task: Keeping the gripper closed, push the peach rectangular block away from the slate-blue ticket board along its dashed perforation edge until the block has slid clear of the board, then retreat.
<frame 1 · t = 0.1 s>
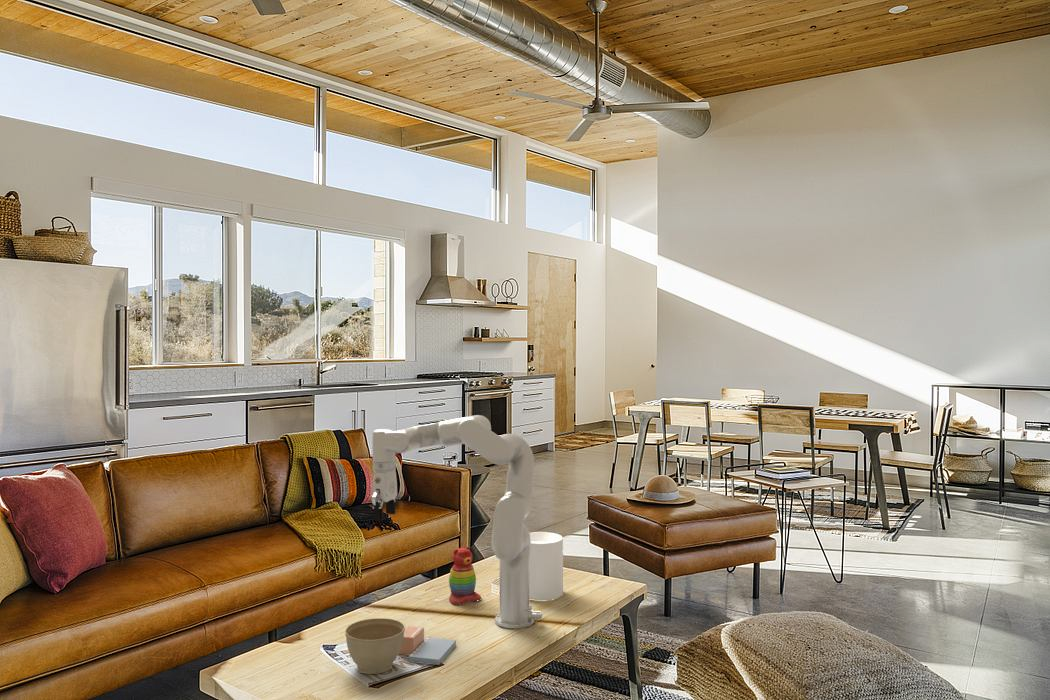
hand: (384, 517, 253), 31 cm above the table, fingers open, 9 cm apart
planter bowl: (375, 668, 209), on the table
stacking bear: (463, 599, 263), on the table
ticket board: (433, 653, 218), on the table
peach rectangular block: (410, 640, 221), point 3 cm above the table, slide at 0.0 cm
canister: (540, 594, 268), on the table
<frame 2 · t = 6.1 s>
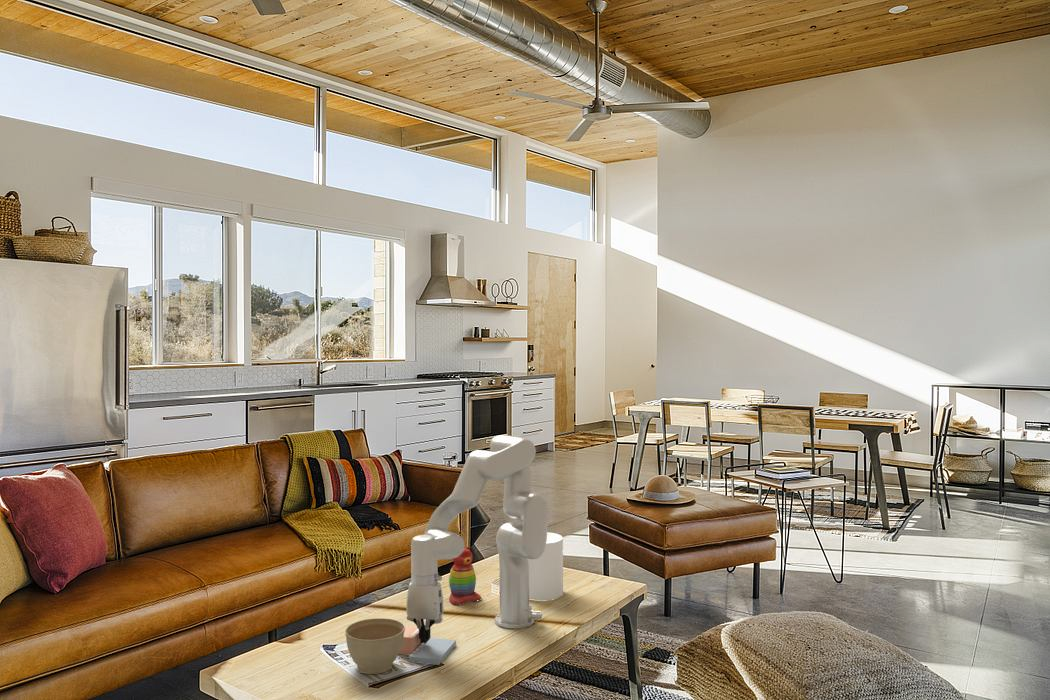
hand: (424, 641, 219), 3 cm above the table, fingers closed
peach rectangular block: (410, 640, 221), point 3 cm above the table, slide at 0.1 cm, touching gripper
everything else where it was.
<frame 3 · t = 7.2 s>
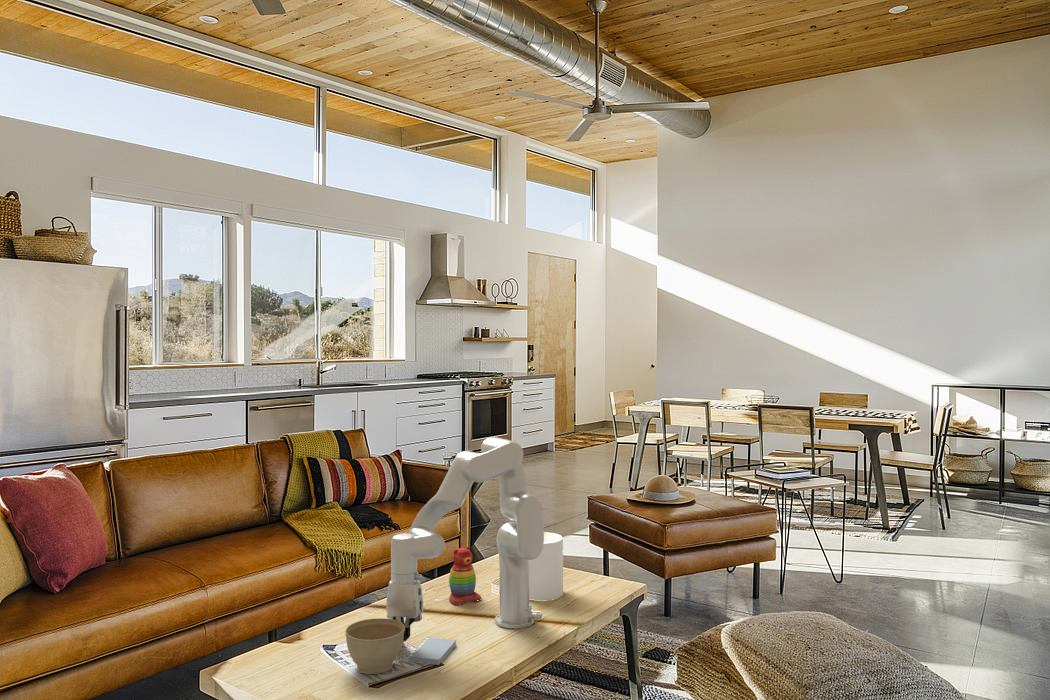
hand: (404, 639, 221), 3 cm above the table, fingers closed
peach rectangular block: (390, 638, 222), point 3 cm above the table, slide at 6.5 cm, touching gripper
everything else where it was.
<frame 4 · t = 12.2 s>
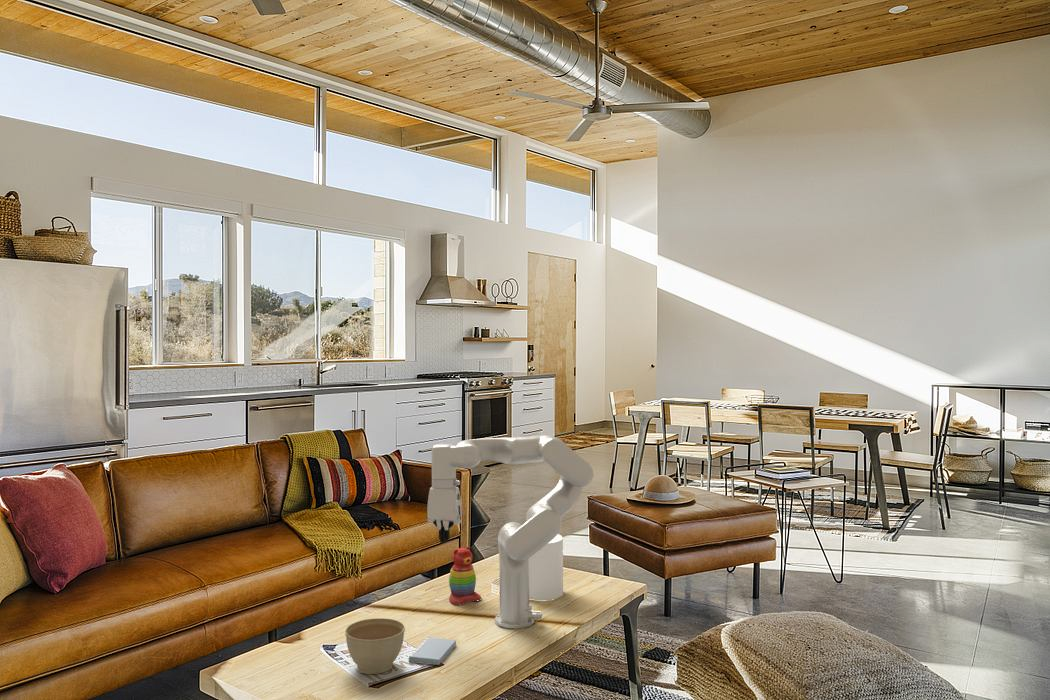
hand: (444, 541, 237), 27 cm above the table, fingers closed
peach rectangular block: (380, 637, 223), point 3 cm above the table, slide at 9.7 cm
everything else where it was.
at the end: peach rectangular block slide at 9.7 cm; peach rectangular block touching nothing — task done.
